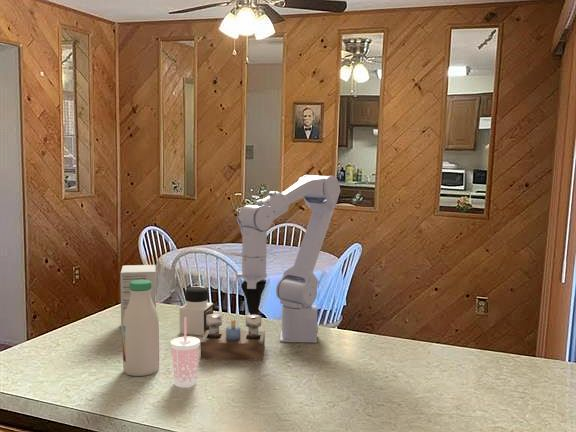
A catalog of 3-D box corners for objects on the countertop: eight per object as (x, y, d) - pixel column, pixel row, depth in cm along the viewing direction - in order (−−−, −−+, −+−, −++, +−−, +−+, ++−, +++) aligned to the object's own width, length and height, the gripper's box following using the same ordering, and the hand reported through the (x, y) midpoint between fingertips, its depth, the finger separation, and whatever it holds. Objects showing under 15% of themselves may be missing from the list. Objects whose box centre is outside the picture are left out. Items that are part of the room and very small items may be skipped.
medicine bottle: (204, 335, 142) (204, 291, 140) (179, 333, 143) (179, 289, 142) (213, 327, 149) (213, 285, 147) (189, 325, 150) (189, 283, 149)
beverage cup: (206, 380, 113) (206, 316, 112) (187, 391, 108) (187, 323, 106) (183, 374, 116) (183, 311, 115) (164, 384, 111) (163, 319, 109)
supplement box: (122, 323, 151) (121, 265, 149) (156, 322, 153) (156, 264, 151) (120, 334, 141) (119, 272, 140) (156, 332, 144) (156, 271, 142)
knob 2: (261, 337, 131) (261, 314, 131) (260, 343, 128) (260, 319, 127) (246, 337, 131) (246, 314, 131) (244, 342, 128) (244, 319, 127)
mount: (264, 346, 134) (264, 331, 134) (262, 360, 125) (262, 343, 125) (206, 345, 134) (206, 330, 134) (200, 358, 125) (200, 342, 125)
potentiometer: (241, 335, 130) (241, 318, 130) (239, 340, 127) (239, 322, 126) (227, 335, 130) (227, 317, 130) (225, 340, 127) (225, 322, 126)
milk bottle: (166, 367, 120) (166, 279, 118) (143, 379, 113) (142, 287, 111) (139, 361, 123) (138, 276, 121) (115, 373, 116) (114, 283, 114)
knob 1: (223, 337, 131) (223, 314, 131) (220, 342, 128) (221, 318, 127) (207, 336, 132) (207, 313, 131) (204, 341, 128) (205, 318, 127)
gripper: (240, 250, 135) (240, 302, 136) (233, 261, 120) (233, 319, 122) (268, 250, 134) (267, 303, 136) (265, 261, 120) (264, 320, 121)
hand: (253, 311), depth 129 cm, fingers closed
